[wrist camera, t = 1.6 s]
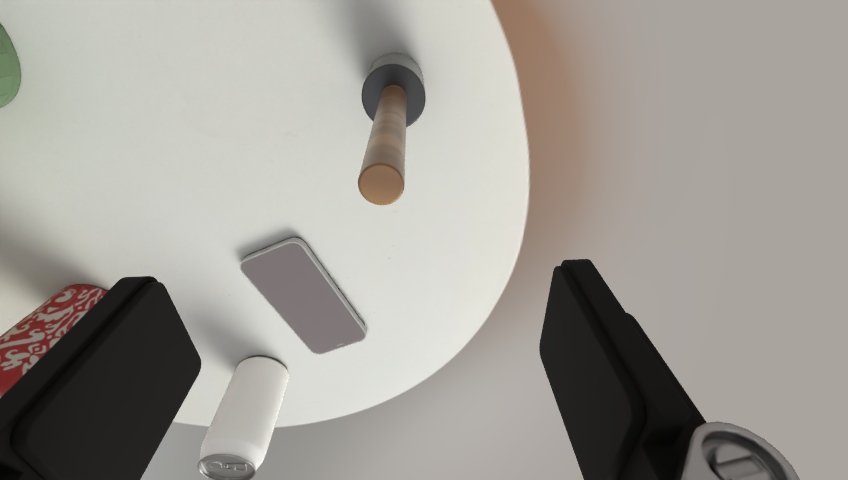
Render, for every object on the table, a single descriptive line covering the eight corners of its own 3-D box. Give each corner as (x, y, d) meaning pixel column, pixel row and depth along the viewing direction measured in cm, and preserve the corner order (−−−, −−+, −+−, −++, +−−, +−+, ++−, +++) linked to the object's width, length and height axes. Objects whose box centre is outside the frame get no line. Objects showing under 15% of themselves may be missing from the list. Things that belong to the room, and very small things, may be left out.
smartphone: (297, 238, 38) (370, 338, 45) (300, 233, 38) (370, 332, 46) (234, 264, 39) (314, 356, 47) (238, 258, 40) (316, 350, 47)
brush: (365, 53, 30) (314, 131, 14) (422, 51, 30) (437, 127, 14) (371, 112, 32) (333, 235, 16) (424, 110, 32) (438, 231, 16)
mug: (27, 294, 42) (-116, 409, 30) (89, 264, 40) (-38, 375, 28) (123, 364, 48) (34, 481, 37) (180, 341, 46) (106, 457, 35)
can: (235, 351, 47) (188, 450, 37) (290, 357, 48) (258, 455, 38) (239, 385, 51) (196, 483, 41) (289, 389, 52) (260, 487, 42)
